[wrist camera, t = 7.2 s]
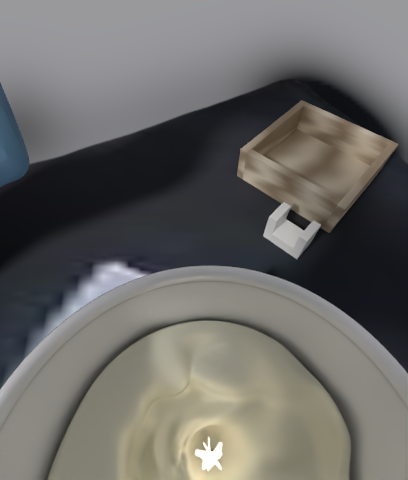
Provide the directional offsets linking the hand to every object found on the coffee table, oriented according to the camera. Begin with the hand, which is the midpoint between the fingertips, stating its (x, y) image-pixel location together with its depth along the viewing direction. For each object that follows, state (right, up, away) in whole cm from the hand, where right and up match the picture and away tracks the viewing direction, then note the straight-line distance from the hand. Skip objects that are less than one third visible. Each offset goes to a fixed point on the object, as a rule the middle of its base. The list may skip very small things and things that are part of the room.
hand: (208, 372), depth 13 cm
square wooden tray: (+15, +16, +29) cm, 36 cm away
